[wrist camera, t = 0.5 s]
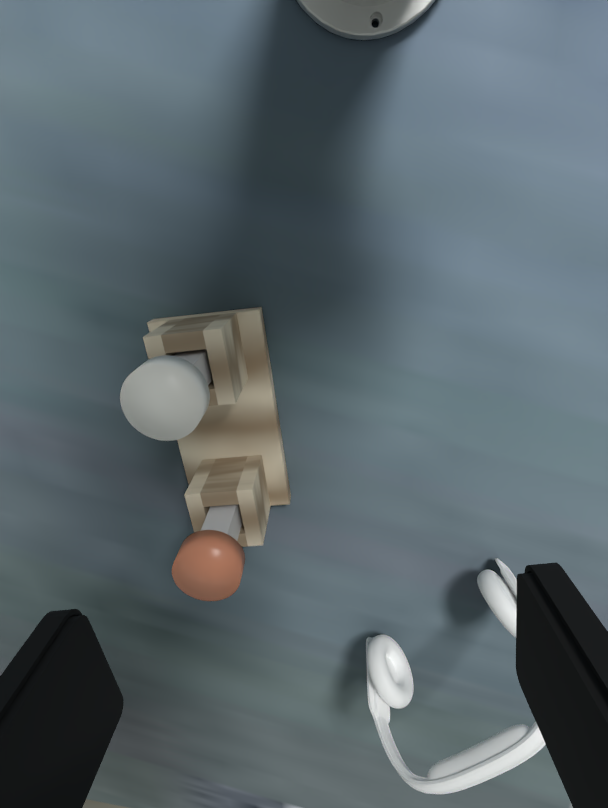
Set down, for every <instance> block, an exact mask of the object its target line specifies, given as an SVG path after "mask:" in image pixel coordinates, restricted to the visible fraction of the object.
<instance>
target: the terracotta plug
mask: <svg viewBox="0 0 608 808" xmlns="http://www.w3.org/2000/svg"><path fill="white" fill-rule="evenodd" d="M242 522H243V521H242V516H241V511H240V506H239V504H236V505H223V506H210V508H209V511H208V513H207V516H206V518H205V521H204V523H203V526H202V528H201V531H197V532H195V533H193V534H191V535H189V536H188V537H187V538H186V539H185V540H184V541H183V543H182V545H181V547H180V549H179V552H178V554H177V556H176V558H175V561H174V563H173V566H172V576H173V579H174V581H175V583H176V585H177V586H178V587H179V588H180V589H181V590H182V591H183V592H184V593H186V594H187V595H189V596H191V597H193V598H195V599H199V600H203V601H218V600H222V599H225V598H227V597H229V596H231V595H232V594H233V593H234V592H235V591H236V590H237V589H238V587H239V584H240V581H241V576H242V572H243V568H244V564H245V554H244V551H243V549H242V547H241V545H240V544H239V543H238V542H237V540H238V537H239V533H240V529H241V526H242Z"/></svg>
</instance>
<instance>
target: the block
mask: <svg viewBox="0 0 608 808" xmlns="http://www.w3.org/2000/svg"><path fill="white" fill-rule="evenodd" d="M147 325H148V328H149V332H150V333H148V334H147V335H145V336H144V337H143V340H144V344H145V348H146V352H147V355H148V359H151V358H154V357H157V356H162V355H170V356H174V355H175V354H176V353H178V352H186V351H195V350H205V349H207V354H208V359H209V363H210V368H211V373H212V378H213V379H212V381H211V382H210V383H209V385H208V387H209V392H210V401H209V405H208V408H207V410H206V412H205V414H204V415H203V417H202V419H201V420H200V422H199V424H198V425H197V427H196V428H195V429H194V430H193V431H192V432H191V433H190V434H189V435H187V436H185V437H183V438H181V439H178V440H177V441H178V445H179V449H180V453H181V457H182V461H183V465H184V469H185V472H186V476H187V480H188V484H189V486H188V488H187V490H186V492H185V494H184V496H185V499H186V503H187V507H188V511H189V514H190V518H191V522H192V526H193V530H194V533H195V532H197V531H201V528H202V526H203V523H204V521H205V518H206V516H207V513H208V511H209V508H210V506H223V505H236V504H239V506H240V511H241V516H242V521H243V522H242V526H241V529H240V533H239V537H238V540H237V542H238V543H239V544H240V545H241V547H245V546H260V545H263V543H264V538H265V532H266V527H267V522H268V517H269V511H270V506H272V505H286V504H290V498H291V494H290V487H289V481H288V474H287V468H286V461H285V455H284V448H283V442H282V435H281V429H280V422H279V416H278V409H277V403H276V396H275V390H274V384H273V377H272V371H271V364H270V358H269V351H268V345H267V338H266V332H265V325H264V319H263V312H262V307H256V308H247V309H238V310H229V311H220V312H211V313H202V314H193V315H185V316H176V317H167V318H158V319H152V320H151V321H149V322H147Z"/></svg>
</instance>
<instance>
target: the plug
mask: <svg viewBox="0 0 608 808" xmlns="http://www.w3.org/2000/svg"><path fill="white" fill-rule="evenodd" d="M212 379H213V378H212V373H211V368H210V363H209V359H208V354H207V349H205V350H195V351H186V352H178V353H176V354H175V355H174V356H170V355H162V356H157V357H154V358H151V359H149V360H147V361H146V362H144V363H143V364H142V365H141V366H139V367H138V368H137V369H136V370H134V371H133V372H132V373H131V374H130V375H129V376H128V377H127V378H126V379H125V381H124V383H123V385H122V388H121V392H120V402H121V407H122V410H123V413H124V415H125V417H126V418H127V420H128V421H129V422H130V424H131V425H132V426H133V427H134V428H135V429H136V430H138V431H139V432H140V433H142V434H144V435H145V436H148V437H150V438H153V439H156V440H162V441H172V440H178V439H181V438H183V437H185V436H187V435H189V434H190V433H191V432H192V431H193V430H194V429H195V428H196V427H197V425H198V424H199V422H200V420H201V419H202V417H203V415H204V414H205V412H206V410H207V408H208V405H209V401H210V392H209V387H208V385H209V383H210V382H211V381H212Z"/></svg>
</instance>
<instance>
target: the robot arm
mask: <svg viewBox="0 0 608 808" xmlns="http://www.w3.org/2000/svg"><path fill="white" fill-rule="evenodd" d="M297 2H298V3H299V5H300V6H301V8H302V9H303V10H304V11H305V12H306V13H307V14H308V15H309V16H310V17H311V18H312V19H313V20H314V21H315V22H316V23H318V24H319V25H321V26H322V27H323V28H325V29H326V30H328V31H329V32H332V33H334V34H337V35H339V36H342V37H345V38H350V39H357V40H370V39H380V38H383V37H386V36H389V35H391V34H394V33H397V32H399V31H400V30H402V29H404V28H405V27H407V26H409V25H411V24H412V23H414V22H415V21H416V20H417V19H418V18H419V17H420V16H421V15H423V14H424V13H425V12H426V11H427V10H428V9H429V8H430V7H431V5H432V4H433V3H434V2H435V0H297ZM373 21H377V22H378V24H379V26H378V27H377V28H373V27H372V22H373ZM516 671H517V676H518V680H519V683H520V686H521V688H522V690H523V693H524V695H525V697H526V700H527V702H528V704H529V707H530V709H531V711H532V714H533V716H534V718H535V720H536V723H537V725H538V727H539V730H540V732H541V734H542V737H543V739H544V741H545V744H546V746H547V748H548V750H549V753H550V755H551V757H552V760H553V762H554V764H555V767H556V769H557V771H558V773H559V776H560V778H561V780H562V783H563V785H564V787H565V790H566V792H567V794H568V797H569V799H570V801H571V803H572V806H573V808H608V631H607V630H606V629H605V627H604V626H603V625H602V623H601V622H600V620H599V619H598V618H597V616H596V615H595V613H594V612H593V611H592V609H591V608H590V606H589V605H588V603H587V602H586V601H585V599H584V598H583V596H582V595H581V594H580V592H579V591H578V589H577V588H576V587H575V585H574V584H573V582H572V581H571V580H570V578H569V577H568V575H567V574H566V573H565V571H564V570H563V568H562V567H561V566H560V565H559V564H558V563H547V564H537V565H528V566H526V568H525V573H523V574H518V575H517V611H516ZM122 710H123V696H122V694H121V691H120V689H119V687H118V685H117V682H116V680H115V678H114V676H113V673H112V671H111V669H110V667H109V664H108V662H107V660H106V658H105V655H104V653H103V651H102V649H101V647H100V644H99V642H98V640H97V638H96V635H95V633H94V631H93V629H92V626H91V624H90V622H89V620H88V618H87V617H86V616H85V615H82V613H81V612H80V611H79V610H77V609H71V610H61V611H51V612H49V613H47V614H46V615H45V616H44V617H43V619H42V620H41V621H40V623H39V624H38V625H37V627H36V628H35V630H34V631H33V632H32V634H31V635H30V636H29V638H28V639H27V641H26V642H25V643H24V645H23V646H22V647H21V649H20V650H19V651H18V653H17V654H16V656H15V657H14V658H13V660H12V661H11V662H10V664H9V665H8V667H7V668H6V669H5V671H4V672H3V673H2V675H1V676H0V808H82V807H83V805H84V802H85V800H86V798H87V795H88V793H89V790H90V788H91V786H92V783H93V781H94V779H95V776H96V774H97V771H98V769H99V767H100V764H101V762H102V759H103V757H104V755H105V752H106V750H107V748H108V745H109V743H110V740H111V738H112V736H113V733H114V731H115V729H116V726H117V724H118V721H119V719H120V717H121V714H122Z"/></svg>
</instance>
